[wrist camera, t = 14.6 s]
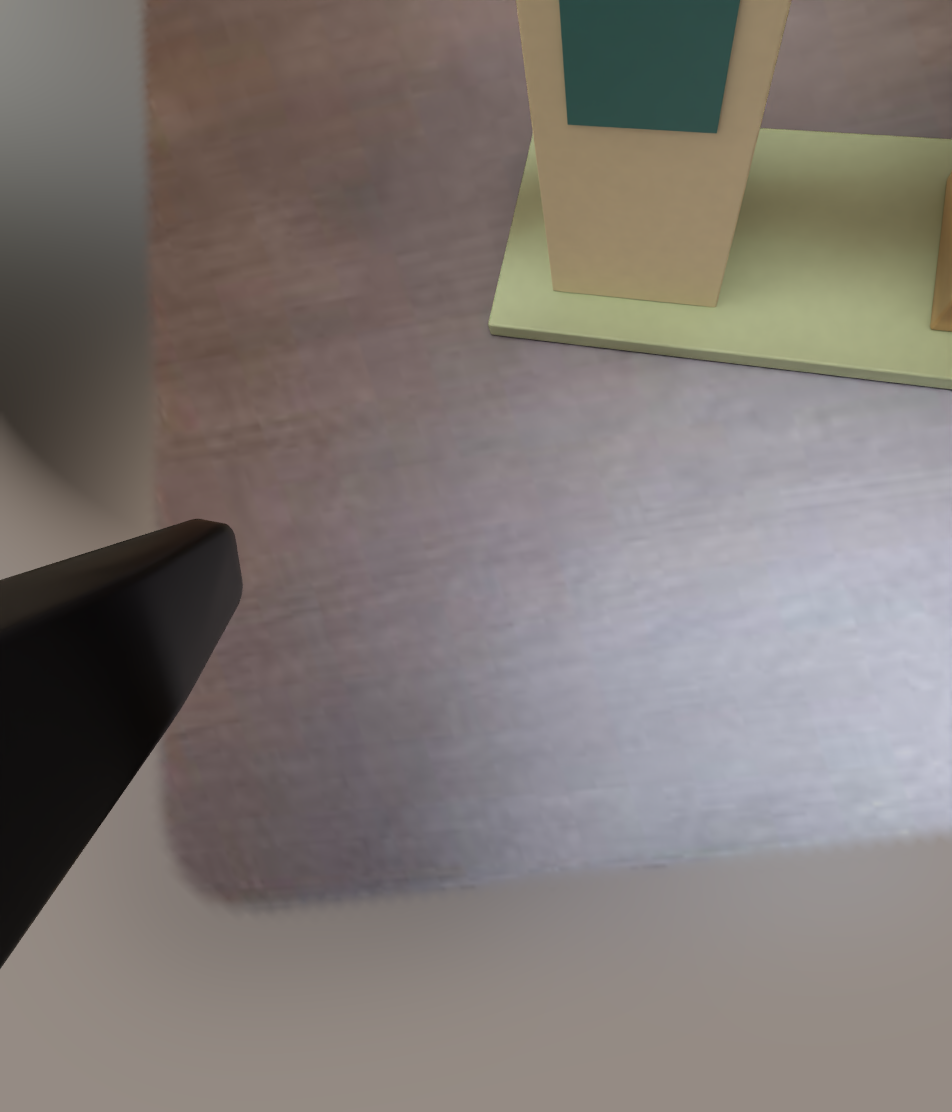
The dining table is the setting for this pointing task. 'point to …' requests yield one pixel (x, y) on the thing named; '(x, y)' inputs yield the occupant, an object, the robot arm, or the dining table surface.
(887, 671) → the dining table surface
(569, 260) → the tall cream block
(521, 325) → the block line
